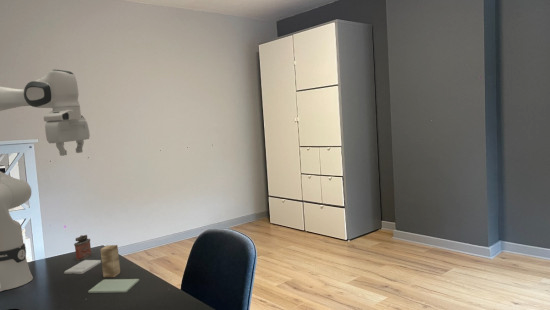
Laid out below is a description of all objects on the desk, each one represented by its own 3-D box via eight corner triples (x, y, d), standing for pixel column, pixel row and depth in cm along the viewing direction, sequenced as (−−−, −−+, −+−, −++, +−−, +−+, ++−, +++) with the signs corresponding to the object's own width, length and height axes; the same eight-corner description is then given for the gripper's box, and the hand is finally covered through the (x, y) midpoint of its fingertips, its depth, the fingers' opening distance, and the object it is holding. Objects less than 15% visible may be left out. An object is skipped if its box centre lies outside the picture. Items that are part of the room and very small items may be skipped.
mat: (88, 292, 144) (88, 291, 144) (103, 281, 154) (103, 279, 154) (126, 292, 143) (126, 290, 142) (139, 280, 152) (139, 279, 152)
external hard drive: (101, 263, 176) (82, 275, 163) (84, 263, 177) (64, 275, 165) (100, 260, 175) (81, 271, 163) (83, 259, 177) (63, 271, 165)
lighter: (87, 254, 187) (85, 233, 186) (93, 254, 186) (91, 233, 185) (74, 260, 180) (71, 238, 179) (80, 261, 179) (77, 238, 178)
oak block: (103, 277, 158) (100, 249, 157) (109, 272, 163) (106, 245, 162) (114, 277, 158) (111, 248, 157) (120, 272, 162) (117, 245, 161)
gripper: (76, 115, 159) (80, 151, 160) (39, 116, 138) (44, 157, 140) (91, 114, 158) (95, 150, 159) (57, 115, 138) (62, 156, 139)
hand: (71, 154), depth 149 cm, fingers open, 8 cm apart
